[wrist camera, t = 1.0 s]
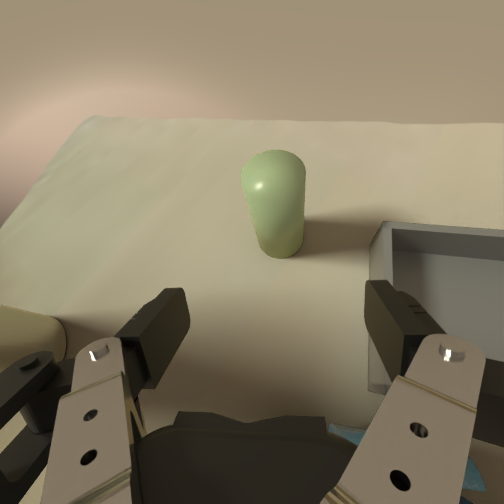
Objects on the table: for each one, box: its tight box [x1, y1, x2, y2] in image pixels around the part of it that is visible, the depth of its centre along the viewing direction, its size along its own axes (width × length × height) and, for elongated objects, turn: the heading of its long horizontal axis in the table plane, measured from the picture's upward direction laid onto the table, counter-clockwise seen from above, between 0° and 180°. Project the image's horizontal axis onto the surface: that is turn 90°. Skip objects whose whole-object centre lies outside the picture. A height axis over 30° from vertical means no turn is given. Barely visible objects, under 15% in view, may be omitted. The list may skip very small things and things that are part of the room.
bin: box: [368, 221, 504, 395], centre depth 21 cm, size 17×14×5 cm
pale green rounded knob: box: [241, 150, 306, 258], centre depth 26 cm, size 5×5×11 cm
